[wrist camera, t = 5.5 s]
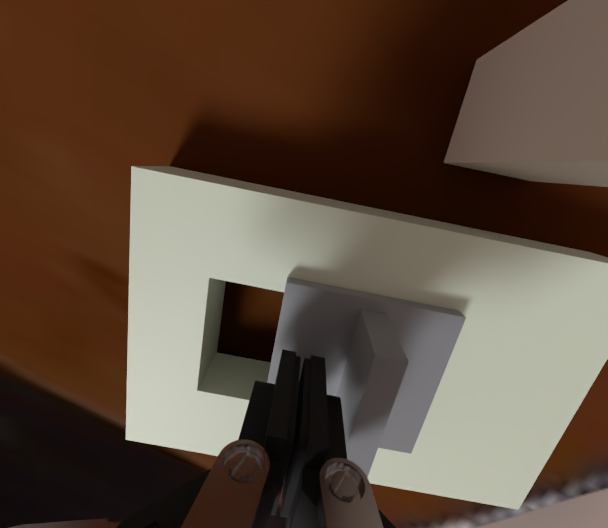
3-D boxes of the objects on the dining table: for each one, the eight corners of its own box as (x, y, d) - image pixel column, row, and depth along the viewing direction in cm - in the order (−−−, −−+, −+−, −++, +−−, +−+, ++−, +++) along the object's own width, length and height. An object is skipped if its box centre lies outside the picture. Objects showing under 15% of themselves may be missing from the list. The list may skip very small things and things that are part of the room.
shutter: (287, 276, 12) (277, 320, 9) (459, 310, 12) (514, 366, 9) (260, 415, 14) (243, 494, 11) (407, 442, 14) (436, 528, 11)
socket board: (168, 165, 14) (131, 166, 11) (590, 252, 15) (657, 273, 12) (155, 395, 18) (125, 439, 15) (486, 456, 19) (518, 509, 16)
